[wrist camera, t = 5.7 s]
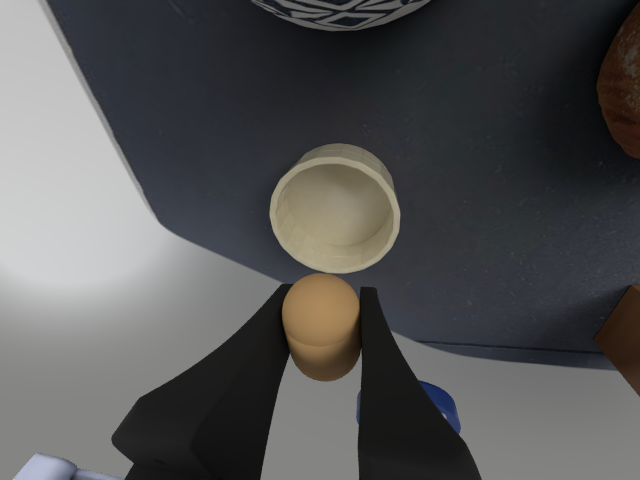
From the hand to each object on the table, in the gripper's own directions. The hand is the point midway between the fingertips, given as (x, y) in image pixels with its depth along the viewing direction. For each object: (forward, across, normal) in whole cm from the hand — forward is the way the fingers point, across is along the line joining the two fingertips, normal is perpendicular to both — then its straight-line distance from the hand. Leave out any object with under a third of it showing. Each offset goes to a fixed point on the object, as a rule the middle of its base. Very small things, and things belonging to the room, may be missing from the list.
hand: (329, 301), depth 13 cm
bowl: (+9, 0, -1) cm, 9 cm away
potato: (0, 0, 0) cm, 0 cm away
